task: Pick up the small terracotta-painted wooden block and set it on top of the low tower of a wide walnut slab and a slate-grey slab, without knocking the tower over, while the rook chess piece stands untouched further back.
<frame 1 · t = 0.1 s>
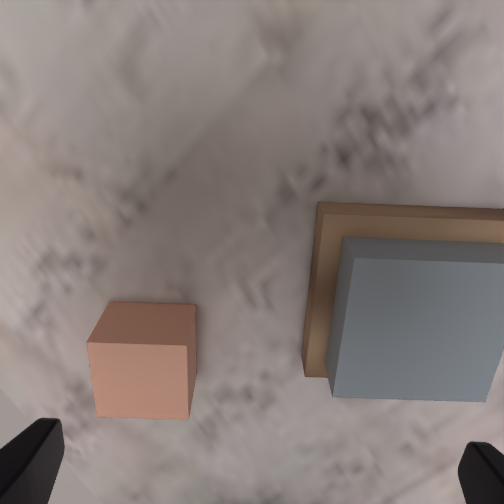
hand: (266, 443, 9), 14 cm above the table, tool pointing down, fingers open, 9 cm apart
terracotta block: (155, 337, 26), on the table
walnut base block: (392, 283, 25), on the table, touching slate top block
slate top block: (407, 308, 23), point 2 cm above the table, touching walnut base block
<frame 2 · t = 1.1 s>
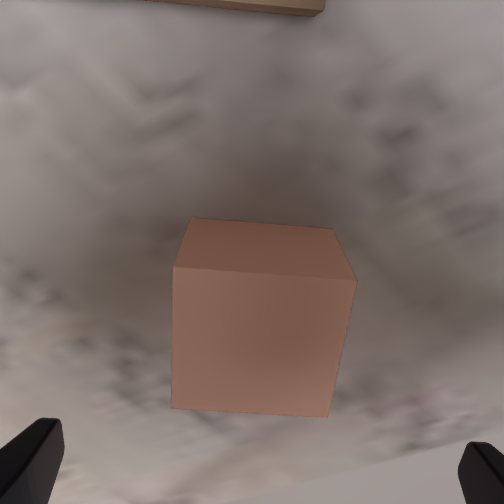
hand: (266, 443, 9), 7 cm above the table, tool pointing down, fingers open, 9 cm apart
terracotta block: (255, 283, 16), on the table
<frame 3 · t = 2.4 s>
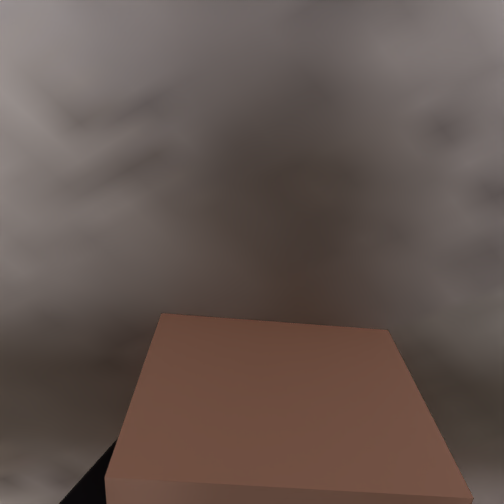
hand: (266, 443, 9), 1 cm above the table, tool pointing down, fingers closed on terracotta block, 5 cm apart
terracotta block: (264, 406, 10), on the table, touching gripper
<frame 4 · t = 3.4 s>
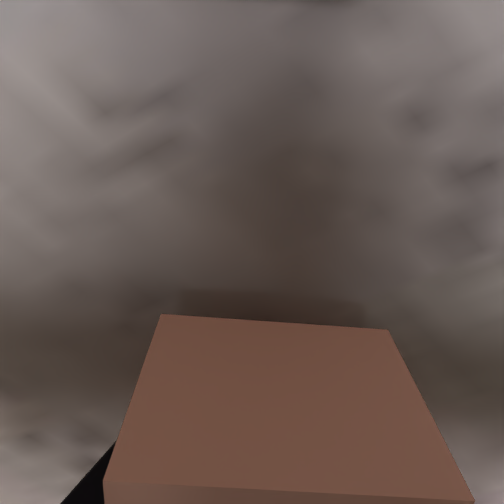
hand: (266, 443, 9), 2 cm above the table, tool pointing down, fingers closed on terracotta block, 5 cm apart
terracotta block: (264, 408, 10), point 1 cm above the table, touching gripper
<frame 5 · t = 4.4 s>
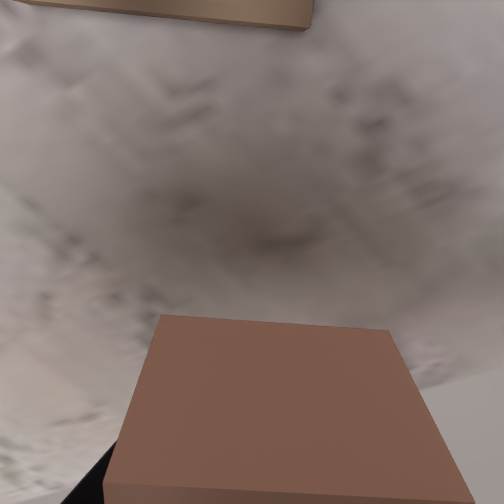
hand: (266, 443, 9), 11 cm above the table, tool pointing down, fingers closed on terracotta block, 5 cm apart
terracotta block: (264, 408, 10), point 10 cm above the table, touching gripper
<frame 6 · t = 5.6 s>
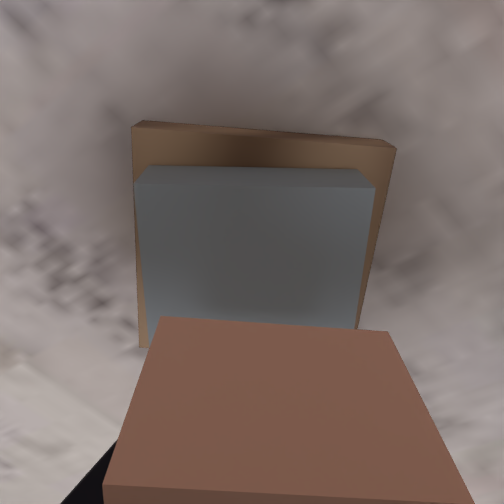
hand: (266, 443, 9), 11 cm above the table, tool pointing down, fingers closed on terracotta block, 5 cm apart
terracotta block: (264, 409, 10), point 10 cm above the table, touching gripper
walnut base block: (253, 235, 20), on the table, touching slate top block
slate top block: (251, 260, 18), point 2 cm above the table, touching walnut base block
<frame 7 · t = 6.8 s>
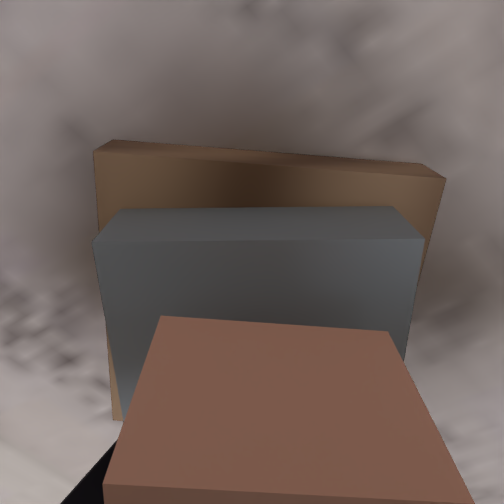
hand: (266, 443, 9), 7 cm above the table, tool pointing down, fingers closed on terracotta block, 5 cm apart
terracotta block: (264, 409, 10), point 6 cm above the table, touching gripper
walnut base block: (256, 279, 16), on the table, touching slate top block
slate top block: (257, 322, 14), point 2 cm above the table, touching walnut base block
when the fingers open (7 cm above the table, at t = 7.3 s): terracotta block drops 2 cm, resting on slate top block.
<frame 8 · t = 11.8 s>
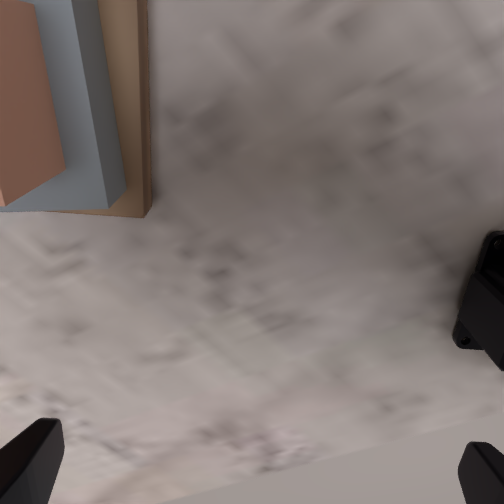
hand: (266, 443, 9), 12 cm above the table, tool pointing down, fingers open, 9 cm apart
walnut base block: (36, 80, 18), on the table, touching slate top block
slate top block: (5, 90, 16), point 2 cm above the table, touching terracotta block, walnut base block
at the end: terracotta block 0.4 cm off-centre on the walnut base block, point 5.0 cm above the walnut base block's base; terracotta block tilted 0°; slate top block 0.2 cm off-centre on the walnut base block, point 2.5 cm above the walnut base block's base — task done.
